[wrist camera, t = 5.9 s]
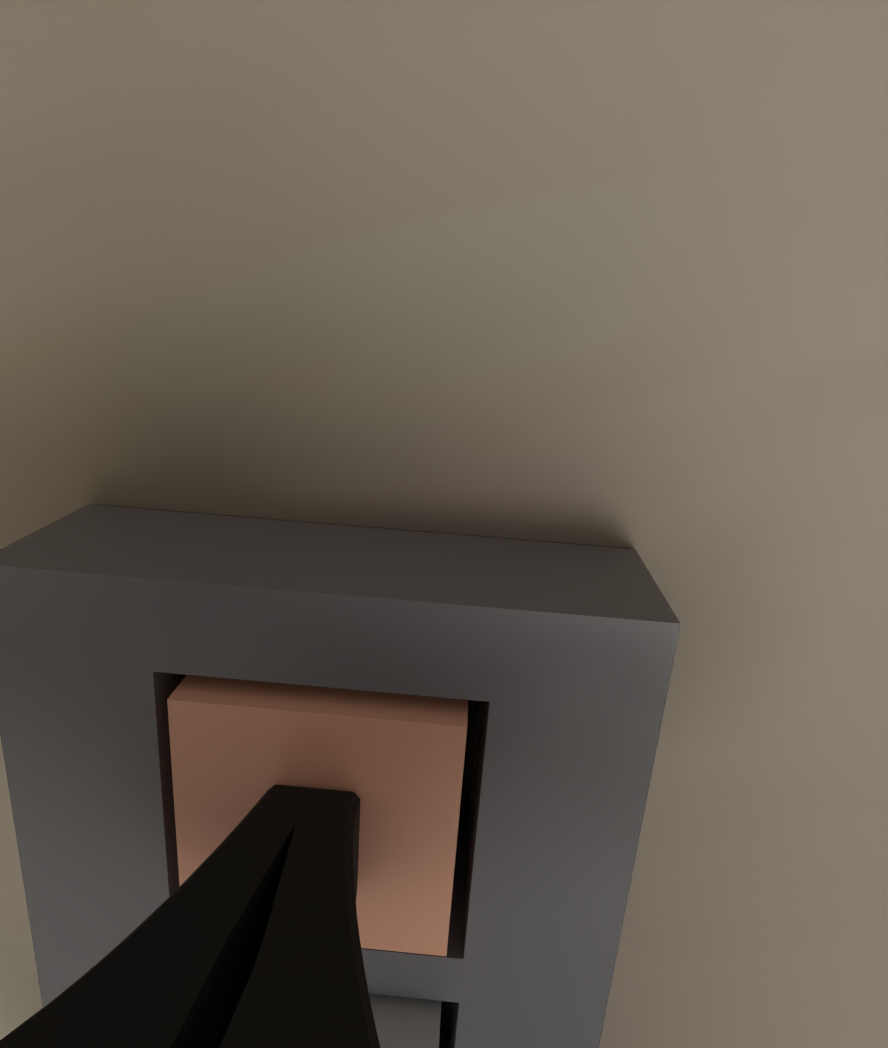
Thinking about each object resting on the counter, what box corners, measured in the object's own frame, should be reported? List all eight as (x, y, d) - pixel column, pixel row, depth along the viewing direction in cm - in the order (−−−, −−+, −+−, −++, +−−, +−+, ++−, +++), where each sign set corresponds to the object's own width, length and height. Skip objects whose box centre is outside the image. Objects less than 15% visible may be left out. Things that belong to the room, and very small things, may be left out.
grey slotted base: (521, 1243, 19) (527, 1414, 16) (156, 1201, 19) (98, 1362, 16) (634, 549, 12) (680, 624, 9) (89, 504, 13) (-28, 563, 10)
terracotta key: (454, 824, 14) (445, 956, 11) (242, 804, 14) (182, 929, 11) (470, 631, 13) (467, 726, 10) (237, 611, 13) (167, 699, 10)
